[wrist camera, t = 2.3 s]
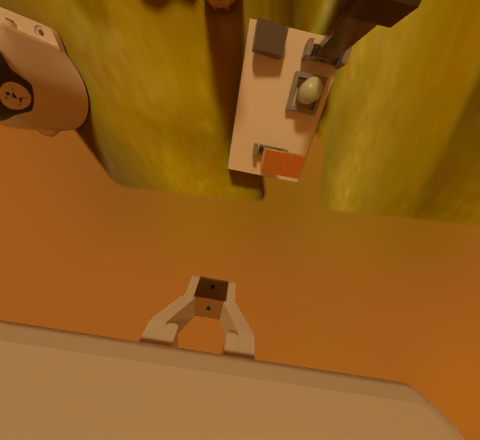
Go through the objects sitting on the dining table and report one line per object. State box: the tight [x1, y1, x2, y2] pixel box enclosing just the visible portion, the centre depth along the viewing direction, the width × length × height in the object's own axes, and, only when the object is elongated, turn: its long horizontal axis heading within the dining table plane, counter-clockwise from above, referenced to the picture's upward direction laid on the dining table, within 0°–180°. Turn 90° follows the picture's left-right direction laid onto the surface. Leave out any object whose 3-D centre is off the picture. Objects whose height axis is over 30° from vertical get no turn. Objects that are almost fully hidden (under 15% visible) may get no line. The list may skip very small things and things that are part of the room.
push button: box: [296, 77, 323, 105], centre depth 26 cm, size 3×3×3 cm
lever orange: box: [258, 144, 306, 179], centre depth 26 cm, size 4×2×15 cm, turn 79°
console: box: [228, 19, 352, 182], centre depth 31 cm, size 15×22×6 cm
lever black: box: [309, 0, 421, 66], centre depth 19 cm, size 4×2×15 cm, turn 80°
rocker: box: [252, 18, 289, 60], centre depth 25 cm, size 4×3×2 cm
